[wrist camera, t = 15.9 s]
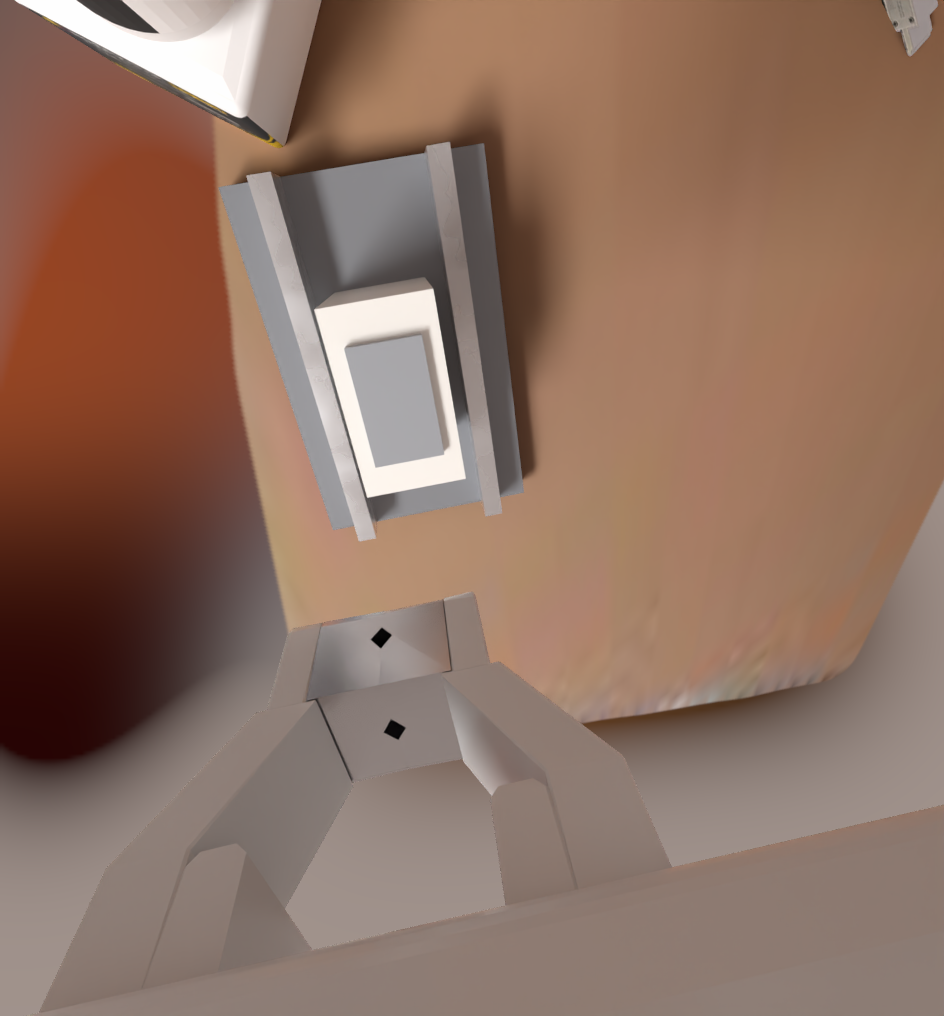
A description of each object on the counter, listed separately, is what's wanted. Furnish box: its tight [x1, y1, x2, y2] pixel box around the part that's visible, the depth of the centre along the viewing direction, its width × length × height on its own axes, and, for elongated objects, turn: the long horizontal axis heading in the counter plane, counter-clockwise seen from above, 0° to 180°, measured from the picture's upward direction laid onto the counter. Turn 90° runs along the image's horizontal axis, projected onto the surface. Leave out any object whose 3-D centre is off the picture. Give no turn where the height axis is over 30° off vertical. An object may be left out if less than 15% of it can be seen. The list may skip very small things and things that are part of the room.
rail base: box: [219, 143, 524, 530], centre depth 28 cm, size 18×12×2 cm, turn 9°
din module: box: [314, 277, 466, 498], centre depth 24 cm, size 8×4×7 cm, turn 9°
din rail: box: [246, 142, 502, 541], centre depth 26 cm, size 18×8×2 cm, turn 9°
